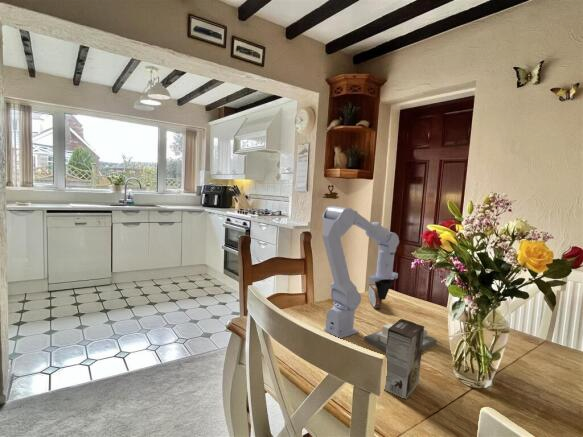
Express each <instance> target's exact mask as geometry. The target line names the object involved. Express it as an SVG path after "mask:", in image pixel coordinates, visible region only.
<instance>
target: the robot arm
mask: <svg viewBox="0 0 583 437" xmlns="http://www.w3.org/2000/svg"><path fill="white" fill-rule="evenodd" d="M321 217H322V222H323V226H322V241H323V244H324V248H325V251H326V256H327V260H328V263H329V268H330V272H331V275H332V280H333V282H331V284H330V285H329V286H330V298H331V300H333V303H332V304H333V306H332V307H331V308H330V309H328V311H327V312H326V319H325V320H326V321H325V327H324V328H323V330H324V331H325V332H327V333H329V334H331V335H333V336H334V337H336V338H338V337H339V339H343V338H345V337H348V336H352V335H355V334H359V330H358V329H355V328H354V323H355V313H356V310H357V308H358V307H359V306H360V304H361V303H362V297H361V296H362V295H361V293H359V291H358V288H357V286H356V285H355V284H354V283H353V281H352V280H351V277H350V274H349V269H348V265H347V261H346V256H345V253H344V249H343V245H342V241H341V238H342V237H343V236H344V235H345V234H346V233H348V231H349V230H350V229H351V228H352V226H356V227H358V228H360V229H362V230H363V231H365V235H366V236H367V237H368V238H370V239H372V240H373V241H375V242H376V245H377V246H378V253H377V262H376V272H375V274H372V275H370V276H369V277H368V278H369V279H368V282H370V283H371V284H375V285H376V287H377V291H378V297H379V299H382V301H383V300H386V298H387V295H388V293H389V291H390V289H391V286H393V285H394V281H393V280H395V279H398V277H399V273H398V272H394V270H393V269H394V261H395V254H396V252H397V247H399V244H400V240H399V236H398V234H397V233H396V232H392V231H389V228H388V227H384V226H382V223H381V222H379V221H373V222H371V221H370V220H368V219H367V218H365V217H363V216H362V215H361V214H360V213H358V211H357V210H354V209H352V208H351V207H342V206H335V205H330V206H329V205H328V206H327V207H326V209H325V210H324V212H323V213H322V215H321Z"/></svg>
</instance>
